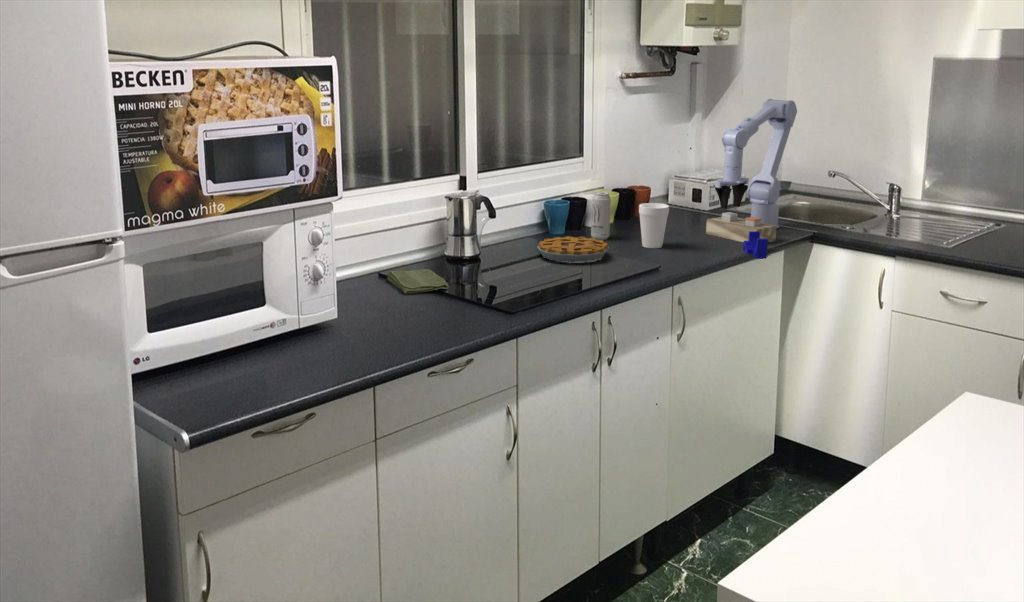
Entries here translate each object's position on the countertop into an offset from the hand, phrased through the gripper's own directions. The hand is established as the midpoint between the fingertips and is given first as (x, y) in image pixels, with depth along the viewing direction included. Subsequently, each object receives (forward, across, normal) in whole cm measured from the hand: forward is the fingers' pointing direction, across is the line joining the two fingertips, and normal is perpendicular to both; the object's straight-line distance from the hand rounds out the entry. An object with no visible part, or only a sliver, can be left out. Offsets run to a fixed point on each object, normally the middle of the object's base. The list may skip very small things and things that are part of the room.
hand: (730, 207), depth 329 cm
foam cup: (+10, -33, +3) cm, 34 cm away
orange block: (+7, 0, -10) cm, 12 cm away
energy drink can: (+10, -39, +21) cm, 45 cm away
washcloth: (+10, -119, +6) cm, 120 cm away
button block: (+9, 0, -5) cm, 11 cm away
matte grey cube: (+7, 0, 0) cm, 7 cm away
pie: (+10, -63, +7) cm, 64 cm away
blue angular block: (+10, -15, -24) cm, 30 cm away
